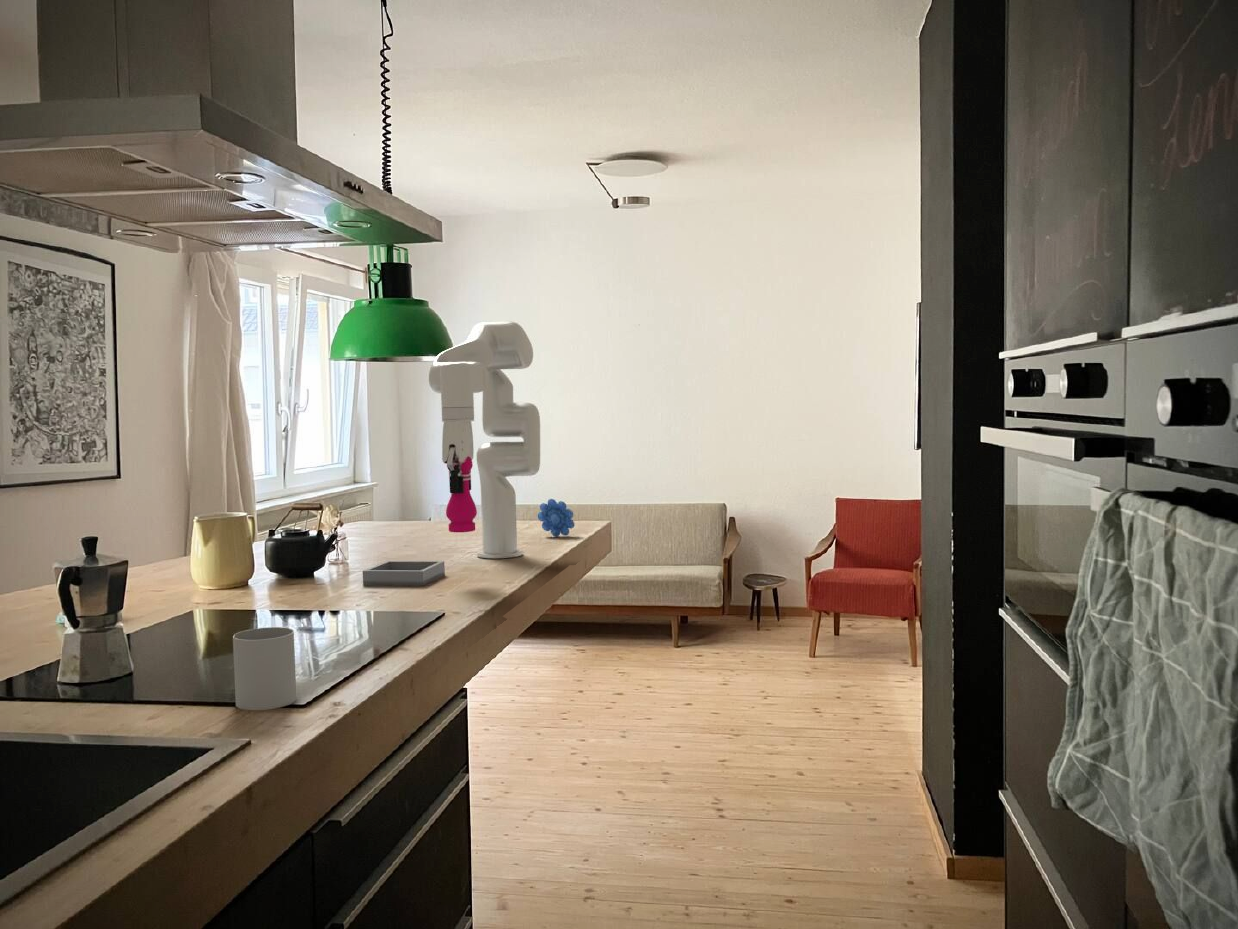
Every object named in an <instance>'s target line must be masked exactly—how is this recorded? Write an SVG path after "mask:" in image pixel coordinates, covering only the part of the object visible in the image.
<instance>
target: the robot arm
mask: <svg viewBox="0 0 1238 929" xmlns="http://www.w3.org/2000/svg"><path fill="white" fill-rule="evenodd" d="M533 358H534V349H533V346H532V343H531V340H530V338H529V336H528V335H527V333H526V331H525V330H524V328H523V327H522V326H521V325H520V324H519V323H517V322H514V321H490V322H488V321H487V322H481V323H478V324H475V325H474V326H473V327H472V328H471V329H470V331H469V333H468V335H467V337H466V339H465V341H464V342H462V343H459V344H458V345H455V346H453V347H451V348H448V349H446V350H444V351H442V352H440V353H439V354H438V355H437V356H436V357H435V358H434V360H433V362H432V364H431V365H430V366H431V367H430V369H429V372H428V382H429V383H428V384H429V386H430V388H431V390H432V391H433V392H435V393H437V394H440V397H441V398H440V399H441V422H442V423H443V425H442V437H441V438H442V442H441V450H442V451H441V452H442V453H441V456H442V457H441V460H442V462H443V463H444V464H445V465H446V466H447V465H448V467H449V468H447V470H448V469H449V470H448V479H449V493H450V494H452V493H463V492H464V487H463V476H461V475H462V463H464V462H465V460H466V458H467V457H468V456H469V457H470V458H471V459H472V460H474V435H473V426H472V425H473V424H472V422H475V406H474V405H475V404H474V403H475V402H474V399H475V398H474V394H476V393H477V394H478V393H481V392H482V408H481V409H482V411H481V412H482V417H481V418H482V419H481V420H482V429H483V432H484V434H485V435H486V436H487V437H490V438H491V437H492V438H521V439H523V441H492V442H486V443H483V444H481V445H480V446H479V448H478V449H477V451H476V464H477V469H478V474H479V483H480V502H481V503H480V505H481V507H480V508H481V533H482V534H481V536H482V541H481V542H482V550H481V549H480V550H479V551H477V553H476V554H477V557H478V558H481V559H510V558H516V557H521V556H522V555H523V554H524V552H523V551H524V550H522V549H520V548H518V542H517V541H518V537H517V536H518V534H517V531H518V530H517V505H516V504H517V503H516V502H517V501H516V500H517V499H516V491H515V488H514V486H513V485H512V484H511V483H510V481H509V480H508V479H507V477H532V476H534V475H537V474H538V472H539V471H540V468H541V467H540V466H541V418H540V412H539V408H538V407H537V406H536V405H535V404H533V403H530V402H514V384H513V383H512V381H511V380H510V378H509V377H508V376H507V375H506V374H505V373H504V372H503V370H523V369H528V368H529V367H530V366H532V365H531V364H532V363H533ZM454 461H459V463H454ZM457 466H458V468H457ZM471 473H472V469H471V470H470V472H469V474H471ZM470 478H471V479H470V480H469V491H470V492H471V490H472V475H471V476H470Z"/></svg>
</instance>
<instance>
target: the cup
mask: <svg viewBox="0 0 1238 929" xmlns="http://www.w3.org/2000/svg"><path fill="white" fill-rule="evenodd" d="M232 646H233V647H232V648H233V649H232V650H233V652H232V653H233V673H234V674H233V675H234V691H235V692H234V694H235V707H237V708H238V709H240V710H244V711H267V710H273V709H278V708H279V709H280V708H283V707H286V706H289V705H292V704H293V703H295V702H296V701H297V676H296V673H297V672H296V654H295V651H296V650H295V632H294V629H292V628H289V627H278V626H276V627H275V626H273V627H269V626H268V627H259V628H251V629H247V630H243V631H239V632H237V633H234V634H233V636H232Z"/></svg>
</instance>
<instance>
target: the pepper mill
mask: <svg viewBox="0 0 1238 929" xmlns="http://www.w3.org/2000/svg"><path fill="white" fill-rule="evenodd" d="M454 463H459V461H454ZM446 468H447V470H448V471H449V469H448V468H449V467H448V465H447V464H446ZM457 468H458V466H457ZM472 469H473V459H471V458H470V457H469V456H468V457H467V458H466V460H465V462H464V463H462V475H461V476H463V487H464V492H463V493H450V498H449V500H448V503H447V504H446V509H445V516H446V517H447V519H448V520H449V521H450V522H449V523H448V532H450V533H457V534H458V533H471V532H474V531H476V522H474V519H475V518H476V516H477V514H478V512H477V511H478V510H477V506H476V503H475V501H474V499H473V497H472V494H471V490H470V491H469V480H470V479H471V480H472V474H471V473H470V474H469V472H470V470H471V471H472ZM470 476H471V478H470Z"/></svg>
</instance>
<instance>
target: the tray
mask: <svg viewBox="0 0 1238 929" xmlns="http://www.w3.org/2000/svg"><path fill="white" fill-rule="evenodd" d="M445 568H446V567H445V560H439V561H438V560H386V561H384V562H381V563H378V564H376V565H374V566H372V567H368V568H367V569H364V570H362V586H366V587H367V586H368V587H369V586H373V587H374V586H375V587H376V586H378V587H379V586H380V587H381V586H382V587H383V586H385V587H392V586H393V587H425V586H427V585H428V584H430V583H432V582H434V581H437V580H438V579H441V578H442V577H444V576H446V574H445V573H446V572H445Z"/></svg>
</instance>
